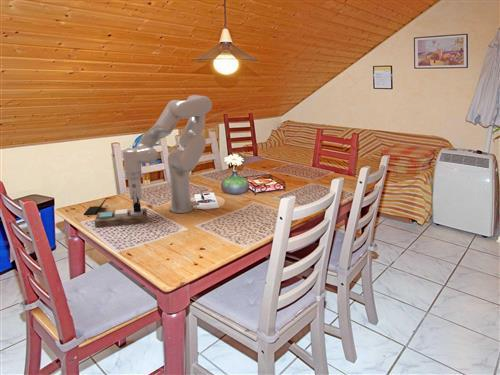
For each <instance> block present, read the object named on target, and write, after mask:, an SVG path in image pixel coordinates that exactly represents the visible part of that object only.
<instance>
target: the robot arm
mask: <svg viewBox="0 0 500 375" xmlns="http://www.w3.org/2000/svg"><path fill="white" fill-rule="evenodd" d="M212 108H213V102H212V100H211V99H210V97H208V96H205V95H197V94H192V95H189V96H188V97H187V98H186V99H185V100H181V99H172V100H170V101H169V102H168V103H167V105H166V106H165V108H164V109H163V111H162V112H161V114H160V116H159V118H157V120H156V122H155V123H154V125H153V126H151V127H150V128H149V129H148V130H147V131H146V132H145V133H144V134H143V135H142V137H141V138H140V139H139V142H138V143H137V145H136V146H135V147H134V148H133V147H131V148H130V147H129V148H125V149H124V150H122V159H123V168H124V175H125V176H124V178H125V180H128V188H129V194H130V200H132V206H133V210H134V212H140V211H141V209H142V208H141V202H140V200H142V198H143V191H142V183H141V179H143V172H142V165H141V164H153V163H155V162H156V161H157V160H158V158H159V152H158V151H157V150H156V149H155V148H154V147H155V145H156V144H157V143H158V142H159V141H160V140H162V139H164V138H166V137H169V135H171V134H172V132H173V131H174V129H175V127H176V126H177V124H178V122H179V121H180V119H181V120H187V119H188V121H187V123H186V125H185V127H184V129H183V131H182V133H181V135H180V137H179V142H178V143H179V145H180V147H181V148H183V150H182V149H180V148H179V149H173V150H171V151H170V152H169V153H168V155H167V166H168V170H169V179H170V180H169V181H170V194H171V195H170V196H171V197H170V198H171V205H170V206H169V207H168V211H170V212H171V213H174V214H184V213H190V212H192V211H193V210H194V208H195V207H196V206H200V201H197V200H193V201H192V199H191V192H190V191H191V190H190V189H191V188H190V187H191V186H190V174H189V173H190V172H192V171H193V170H195V168H196V166H197V164H198V163H199V161H200V159H201V157H202V155H203V153H204V151H205V148H206V144H207V141H206V137H205V136H204V135H203V134H202V133H203V132H204V131H203V130H204V128H205V125H206V114H208V113H210V111H211V110H212ZM194 206H195V207H194Z"/></svg>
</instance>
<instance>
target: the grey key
mask: <svg viewBox="0 0 500 375" xmlns="http://www.w3.org/2000/svg"><path fill="white" fill-rule="evenodd" d="M141 209H142V210H141V211H140V212H134V209H130V210H131V214H130V216H141V215H143V209H144V208H141Z"/></svg>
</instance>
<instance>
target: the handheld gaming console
mask: <svg viewBox="0 0 500 375" xmlns="http://www.w3.org/2000/svg"><path fill="white" fill-rule="evenodd" d="M106 201H107V198H105V199H104V200H103V201H102V202H101V204H100V205H99V206H95V205H94V206H89V207H88V209H86V210H85V211H84V212H83V216H97V214H98V213H99V212H100V211H101V209H102V206H103V205H104V203H105V202H106Z"/></svg>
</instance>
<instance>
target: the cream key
mask: <svg viewBox="0 0 500 375" xmlns="http://www.w3.org/2000/svg"><path fill="white" fill-rule="evenodd" d="M128 210H129V209H128V208H125V209H123V208H122V209H115V210H114V211H115V218H116V217H126V216H127V217H128Z"/></svg>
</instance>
